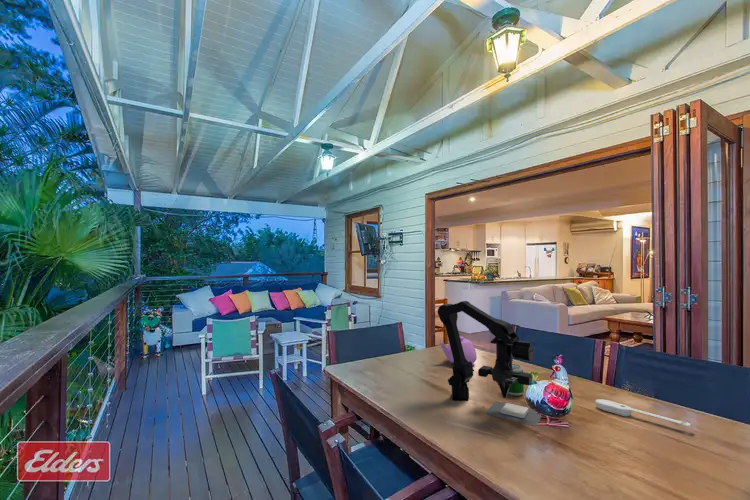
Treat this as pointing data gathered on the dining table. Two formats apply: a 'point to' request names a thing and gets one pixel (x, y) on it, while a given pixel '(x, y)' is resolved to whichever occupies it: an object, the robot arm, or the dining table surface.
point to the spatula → (629, 410)
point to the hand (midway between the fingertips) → (504, 397)
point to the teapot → (467, 348)
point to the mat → (529, 419)
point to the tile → (515, 410)
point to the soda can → (516, 382)
